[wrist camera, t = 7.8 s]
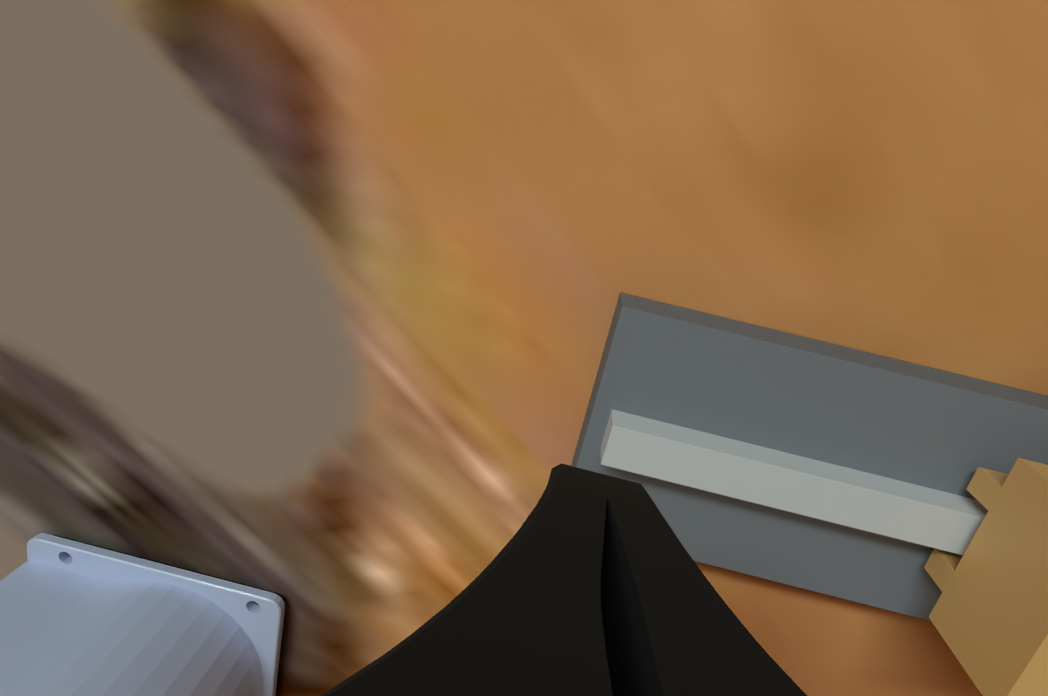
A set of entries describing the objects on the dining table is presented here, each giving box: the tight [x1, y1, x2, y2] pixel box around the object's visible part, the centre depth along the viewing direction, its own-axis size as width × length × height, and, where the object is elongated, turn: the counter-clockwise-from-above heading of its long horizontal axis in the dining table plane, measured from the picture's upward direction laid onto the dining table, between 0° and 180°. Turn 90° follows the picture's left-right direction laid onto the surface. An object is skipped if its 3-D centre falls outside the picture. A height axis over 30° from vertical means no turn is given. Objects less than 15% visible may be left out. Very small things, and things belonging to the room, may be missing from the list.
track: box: [571, 292, 1048, 621], centre depth 16 cm, size 16×7×5 cm, turn 77°
